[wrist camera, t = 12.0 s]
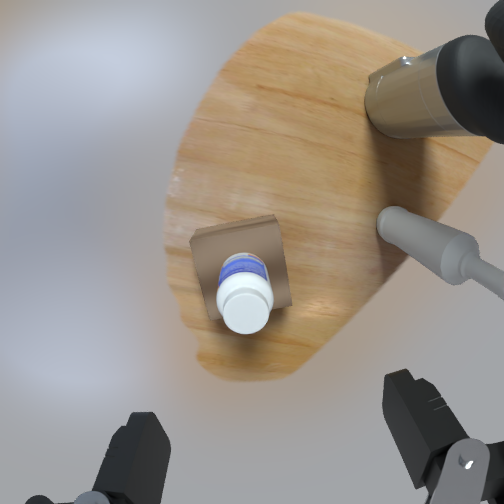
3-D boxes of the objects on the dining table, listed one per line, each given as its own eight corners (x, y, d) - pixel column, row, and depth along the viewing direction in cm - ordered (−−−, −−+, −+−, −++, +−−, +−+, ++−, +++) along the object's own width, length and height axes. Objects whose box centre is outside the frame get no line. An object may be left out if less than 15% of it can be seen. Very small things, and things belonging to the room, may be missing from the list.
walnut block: (196, 229, 41) (189, 241, 35) (273, 214, 40) (278, 223, 35) (214, 299, 44) (210, 320, 38) (286, 286, 43) (292, 305, 37)
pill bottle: (211, 265, 36) (200, 303, 26) (253, 242, 35) (257, 274, 26) (235, 303, 37) (233, 350, 28) (276, 282, 37) (287, 325, 27)
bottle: (412, 227, 41) (540, 296, 17) (385, 248, 42) (501, 337, 18) (396, 197, 40) (532, 248, 16) (368, 218, 41) (491, 292, 17)
